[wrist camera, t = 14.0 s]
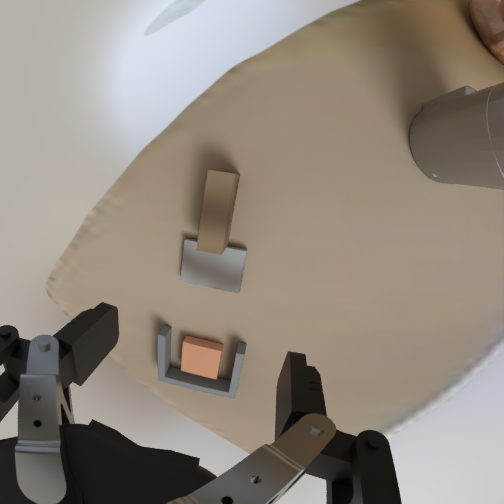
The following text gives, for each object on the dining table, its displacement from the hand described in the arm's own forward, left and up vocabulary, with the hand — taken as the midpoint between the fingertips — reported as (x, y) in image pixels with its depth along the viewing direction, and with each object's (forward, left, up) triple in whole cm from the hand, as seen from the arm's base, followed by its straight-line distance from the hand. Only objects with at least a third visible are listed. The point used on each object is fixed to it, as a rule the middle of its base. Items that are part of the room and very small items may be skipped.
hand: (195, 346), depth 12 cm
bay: (+16, -3, -20) cm, 26 cm away
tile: (+16, -3, -21) cm, 26 cm away
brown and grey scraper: (-1, -3, -20) cm, 20 cm away
